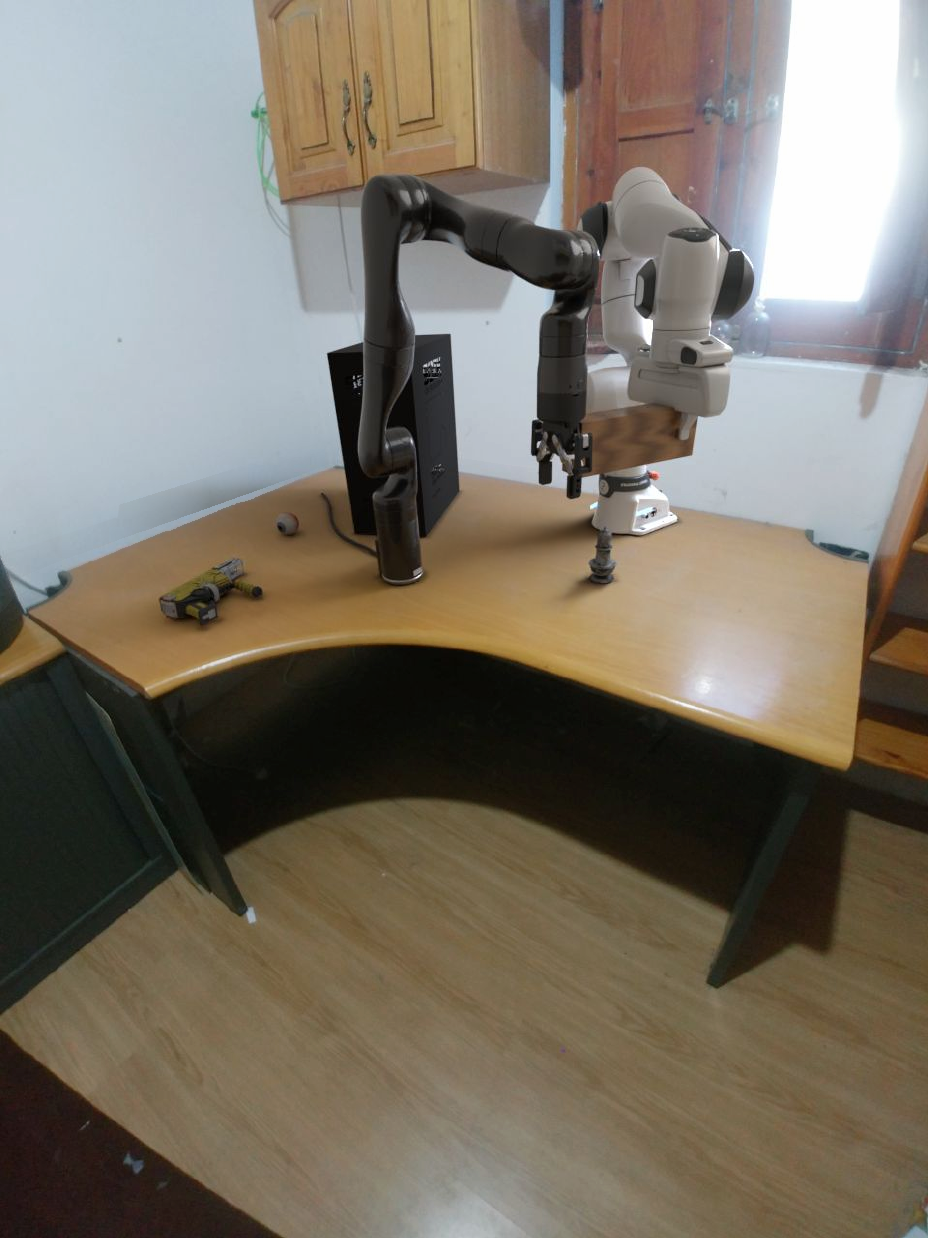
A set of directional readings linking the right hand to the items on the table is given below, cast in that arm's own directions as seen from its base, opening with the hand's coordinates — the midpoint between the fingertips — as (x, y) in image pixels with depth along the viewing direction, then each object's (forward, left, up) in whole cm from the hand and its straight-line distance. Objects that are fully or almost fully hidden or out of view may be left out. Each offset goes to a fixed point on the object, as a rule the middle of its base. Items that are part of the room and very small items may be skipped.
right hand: (668, 435), depth 104 cm
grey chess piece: (0, -15, -34) cm, 37 cm away
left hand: (+22, 0, -6) cm, 23 cm away
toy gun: (+76, -48, -34) cm, 96 cm away
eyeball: (+57, -80, -34) cm, 104 cm away
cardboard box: (+21, -79, -34) cm, 89 cm away
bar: (+8, 0, -4) cm, 9 cm away
